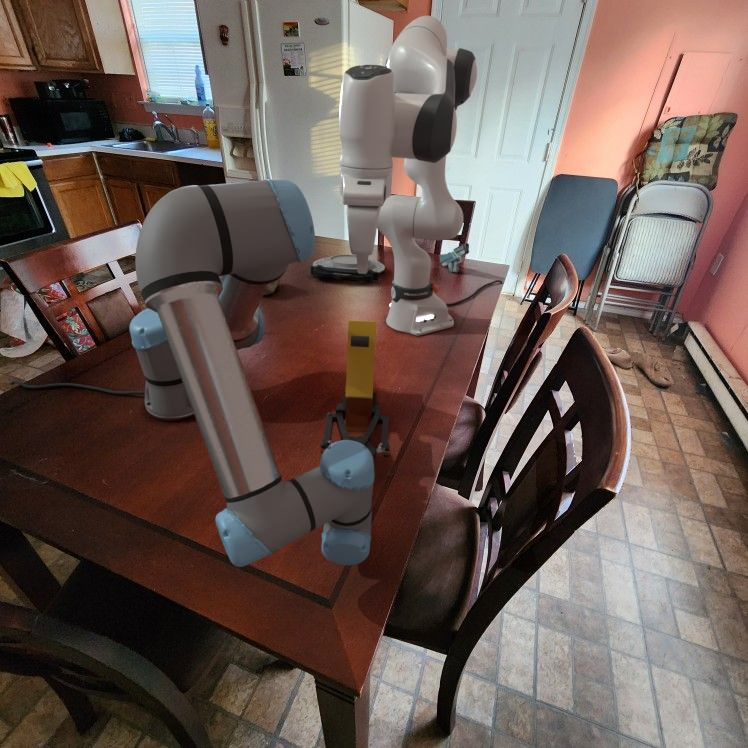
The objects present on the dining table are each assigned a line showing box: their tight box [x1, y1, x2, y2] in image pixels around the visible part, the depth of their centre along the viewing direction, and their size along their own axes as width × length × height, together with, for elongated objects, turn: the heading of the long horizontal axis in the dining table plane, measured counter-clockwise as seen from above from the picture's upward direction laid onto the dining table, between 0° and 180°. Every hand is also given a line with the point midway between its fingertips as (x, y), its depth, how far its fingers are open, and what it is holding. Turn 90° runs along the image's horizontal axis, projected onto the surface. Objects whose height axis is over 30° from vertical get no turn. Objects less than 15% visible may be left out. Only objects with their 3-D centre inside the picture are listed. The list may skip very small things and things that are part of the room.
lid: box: [345, 319, 377, 397], centre depth 82 cm, size 16×6×9 cm
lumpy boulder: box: [263, 277, 281, 296], centre depth 151 cm, size 11×11×15 cm
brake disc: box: [310, 254, 386, 284], centre depth 171 cm, size 32×30×5 cm
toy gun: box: [439, 243, 470, 273], centre depth 173 cm, size 4×19×10 cm
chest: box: [345, 376, 375, 432], centre depth 96 cm, size 15×6×9 cm, turn 178°
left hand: (360, 397), depth 93 cm, fingers closed on chest, 6 cm apart
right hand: (363, 263), depth 78 cm, fingers open, 8 cm apart
